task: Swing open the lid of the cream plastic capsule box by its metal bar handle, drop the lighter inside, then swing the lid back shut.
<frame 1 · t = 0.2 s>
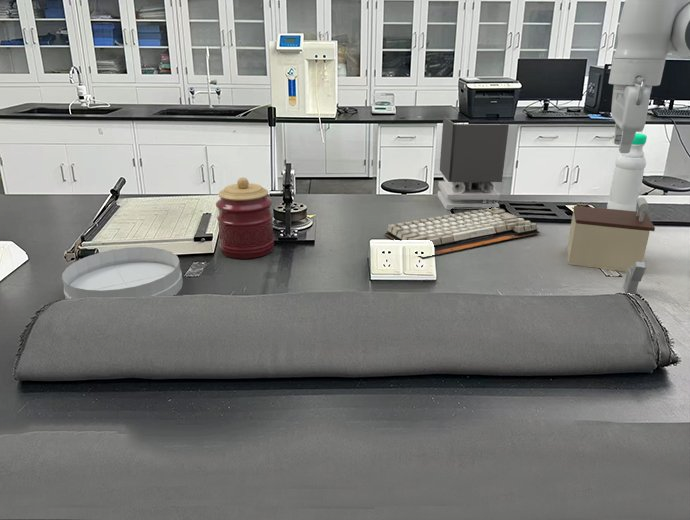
hand: (620, 148, 106), 27 cm above the countertop, tool pointing down, fingers open, 8 cm apart
lighter: (630, 295, 106), on the countertop
lid: (613, 208, 118), point 12 cm above the countertop, hinge at 0.0°
capsule box: (601, 259, 123), on the countertop
dish: (126, 290, 108), on the countertop
water bottle: (617, 227, 145), on the countertop
electrical transformer: (466, 202, 167), on the countertop
mechanical keyboard: (461, 235, 139), on the countertop
kitchen canister: (247, 250, 128), on the countertop
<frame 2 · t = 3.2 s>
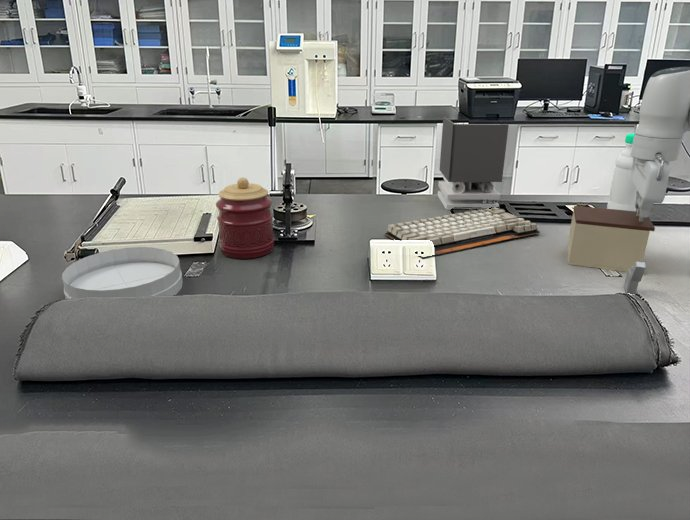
hand: (640, 212, 117), 12 cm above the countertop, tool pointing down, fingers closed on lid, 5 cm apart
lid: (613, 208, 118), point 12 cm above the countertop, hinge at 0.0°, touching gripper
everything else where it was.
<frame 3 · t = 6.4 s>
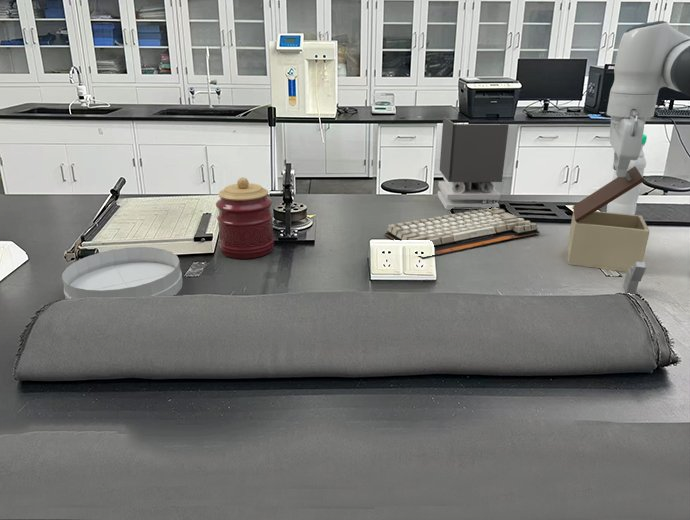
hand: (618, 172, 115), 20 cm above the countertop, tool pointing down, fingers closed on lid, 5 cm apart
lid: (600, 186, 118), point 17 cm above the countertop, hinge at 42.8°, touching gripper
everything else where it was.
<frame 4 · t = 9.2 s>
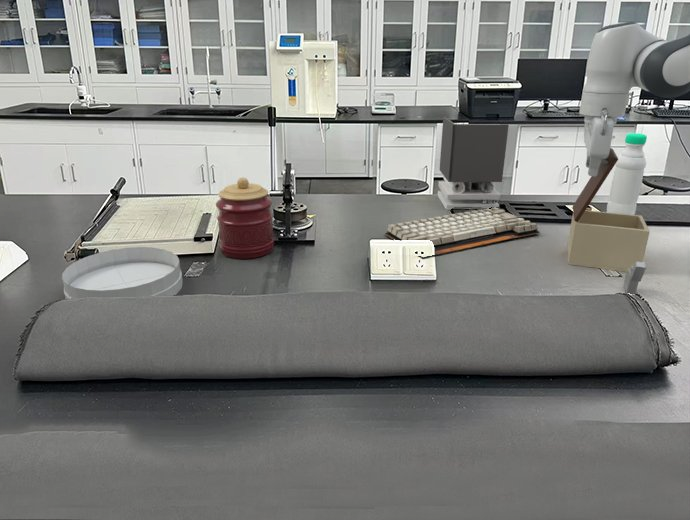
hand: (590, 171, 117), 20 cm above the countertop, tool pointing down, fingers open, 7 cm apart
lid: (584, 180, 118), point 18 cm above the countertop, hinge at 68.9°
everything else where it was.
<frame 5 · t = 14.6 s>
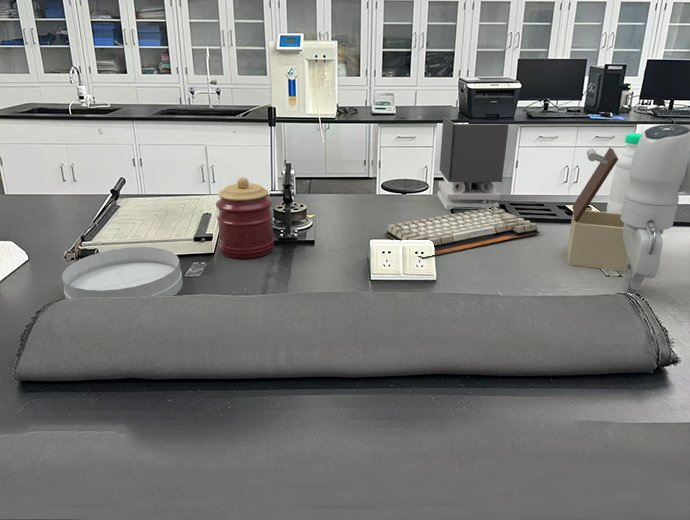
hand: (632, 280, 106), 3 cm above the countertop, tool pointing down, fingers closed on lighter, 6 cm apart
lighter: (630, 295, 106), on the countertop, touching gripper
everything else where it was.
when the fingers open (17 cm above the countertop, at t = 19.7 s): lighter drops 12 cm, resting on capsule box.
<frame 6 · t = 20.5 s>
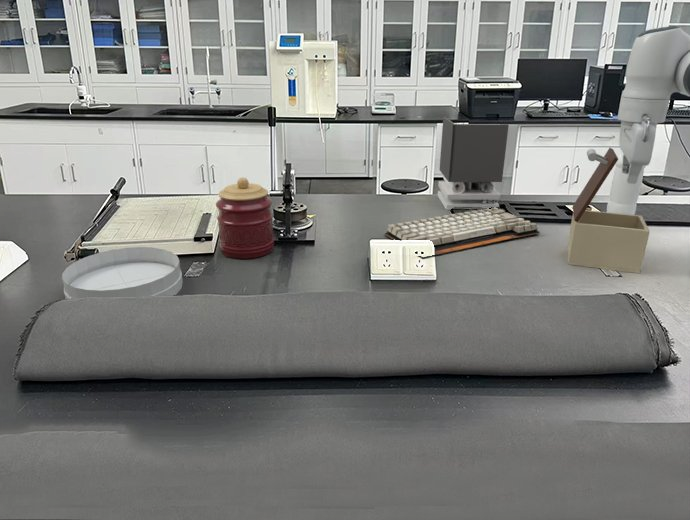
hand: (628, 177, 115), 20 cm above the countertop, tool pointing down, fingers open, 8 cm apart
lighter: (590, 257, 120), point 2 cm above the countertop, touching capsule box
everything else where it was.
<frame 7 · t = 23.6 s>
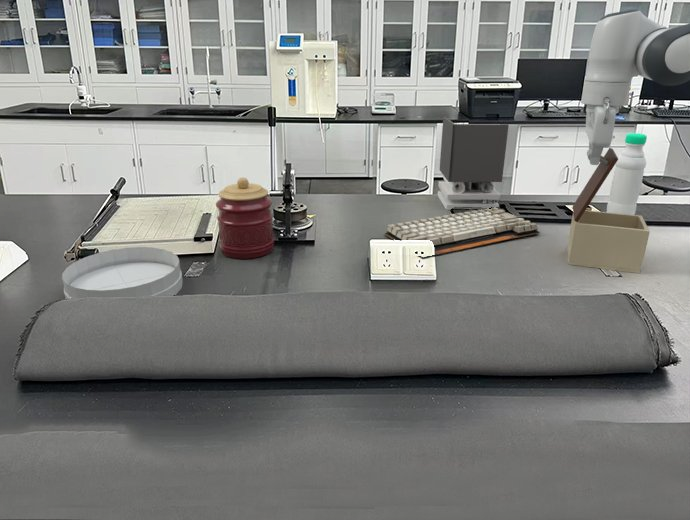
hand: (592, 161, 116), 23 cm above the countertop, tool pointing down, fingers closed on lid, 5 cm apart
lid: (584, 180, 118), point 18 cm above the countertop, hinge at 68.9°, touching gripper
everything else where it was.
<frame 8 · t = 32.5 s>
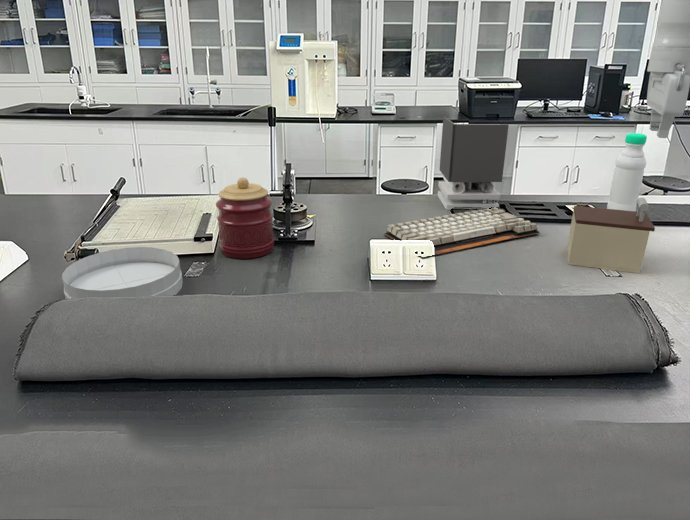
hand: (657, 134, 110), 29 cm above the countertop, tool pointing down, fingers open, 8 cm apart
lid: (613, 208, 118), point 12 cm above the countertop, hinge at -0.1°
everything else where it was.
at the end: lid reached +71° during the clip, +0° at the end; lighter inside the target area in the capsule box (5.2 cm from its centre), point 1.7 cm above the capsule box's base; lid at +0° (first picture: +0°) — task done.
